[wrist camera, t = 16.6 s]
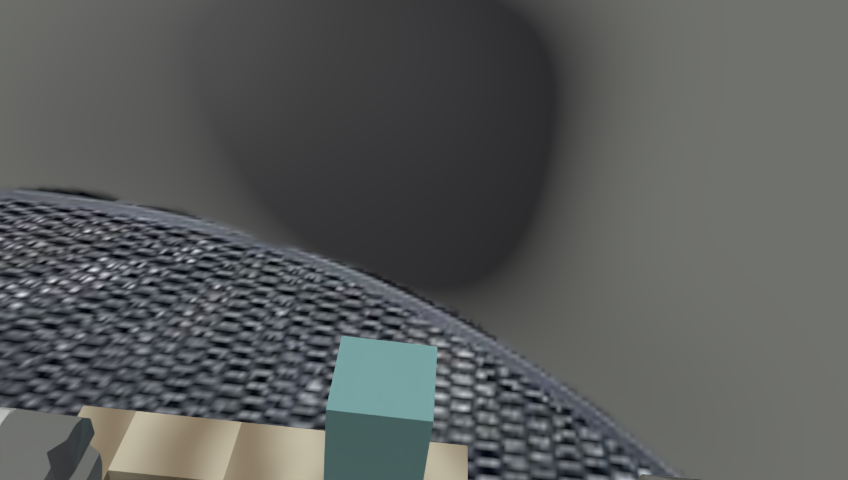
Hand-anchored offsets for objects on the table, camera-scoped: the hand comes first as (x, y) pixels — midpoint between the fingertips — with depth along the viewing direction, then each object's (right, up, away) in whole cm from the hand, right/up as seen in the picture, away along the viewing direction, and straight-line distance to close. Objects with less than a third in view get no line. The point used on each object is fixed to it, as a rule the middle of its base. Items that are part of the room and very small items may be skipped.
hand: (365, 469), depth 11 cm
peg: (-2, -12, +24) cm, 27 cm away
